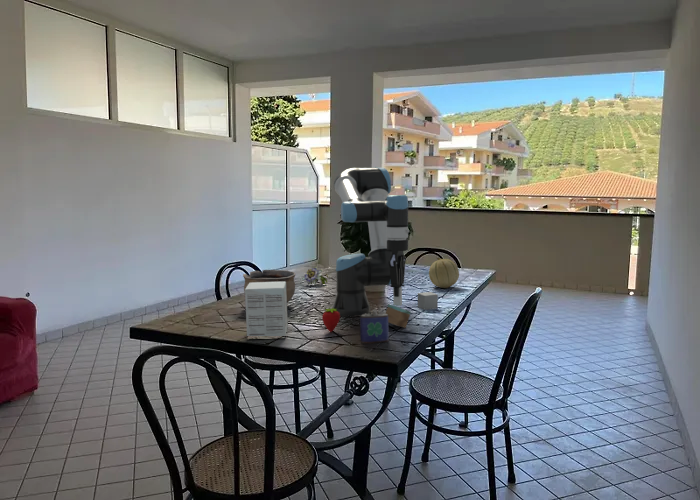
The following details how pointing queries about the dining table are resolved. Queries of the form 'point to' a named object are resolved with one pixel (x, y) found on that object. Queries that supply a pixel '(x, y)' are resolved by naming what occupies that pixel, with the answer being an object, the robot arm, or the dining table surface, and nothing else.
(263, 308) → the supplement box
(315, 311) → the dining table surface
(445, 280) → the cantaloupe
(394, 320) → the brown and green cube
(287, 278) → the ceramic bowl
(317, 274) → the passion flower
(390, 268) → the robot arm
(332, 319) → the strawberry
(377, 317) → the flask
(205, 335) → the dining table surface
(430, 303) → the grey block
